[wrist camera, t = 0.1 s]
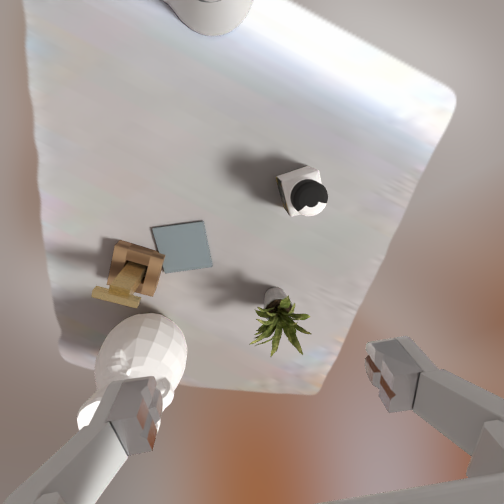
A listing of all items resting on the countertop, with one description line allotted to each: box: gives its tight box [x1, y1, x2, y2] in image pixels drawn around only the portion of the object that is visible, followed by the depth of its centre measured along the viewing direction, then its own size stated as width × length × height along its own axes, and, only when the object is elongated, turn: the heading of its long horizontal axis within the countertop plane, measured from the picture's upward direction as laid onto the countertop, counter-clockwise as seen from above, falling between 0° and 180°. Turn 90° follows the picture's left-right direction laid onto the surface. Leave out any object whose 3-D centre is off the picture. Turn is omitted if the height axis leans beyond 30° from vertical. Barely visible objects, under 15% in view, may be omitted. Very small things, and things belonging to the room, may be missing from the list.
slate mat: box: [152, 221, 213, 273], centre depth 59 cm, size 11×11×1 cm
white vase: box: [77, 313, 187, 433], centre depth 56 cm, size 19×18×25 cm
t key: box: [92, 261, 147, 308], centre depth 54 cm, size 4×8×14 cm, turn 68°
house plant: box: [249, 287, 311, 356], centre depth 58 cm, size 14×14×16 cm
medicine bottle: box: [276, 166, 328, 217], centre depth 50 cm, size 7×7×12 cm
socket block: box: [107, 240, 165, 297], centre depth 58 cm, size 10×10×3 cm
